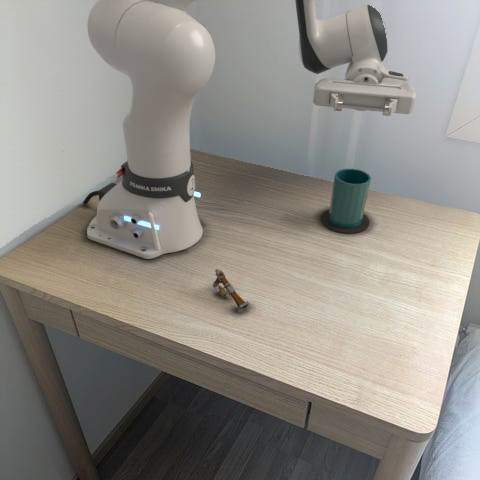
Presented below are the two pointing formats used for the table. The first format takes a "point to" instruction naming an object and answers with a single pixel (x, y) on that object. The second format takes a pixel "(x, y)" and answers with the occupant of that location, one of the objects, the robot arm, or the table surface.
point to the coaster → (329, 225)
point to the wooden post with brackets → (229, 290)
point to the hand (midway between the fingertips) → (362, 109)
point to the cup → (349, 197)
